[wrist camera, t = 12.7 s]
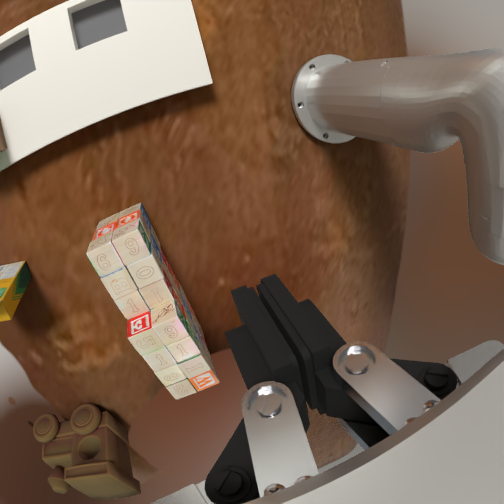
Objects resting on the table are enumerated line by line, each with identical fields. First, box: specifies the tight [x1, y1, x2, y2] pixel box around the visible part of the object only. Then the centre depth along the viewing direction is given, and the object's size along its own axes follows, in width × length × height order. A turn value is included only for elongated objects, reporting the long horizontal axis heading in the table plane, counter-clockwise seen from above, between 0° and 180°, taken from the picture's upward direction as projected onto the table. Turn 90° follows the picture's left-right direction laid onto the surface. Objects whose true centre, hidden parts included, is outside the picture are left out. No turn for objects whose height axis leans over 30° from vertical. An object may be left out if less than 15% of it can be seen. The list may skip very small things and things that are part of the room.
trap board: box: [0, 0, 213, 172], centre depth 25 cm, size 31×16×2 cm, turn 103°
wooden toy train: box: [33, 403, 141, 499], centre depth 41 cm, size 20×11×17 cm, turn 104°
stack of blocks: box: [86, 203, 219, 399], centre depth 36 cm, size 21×6×12 cm, turn 16°
